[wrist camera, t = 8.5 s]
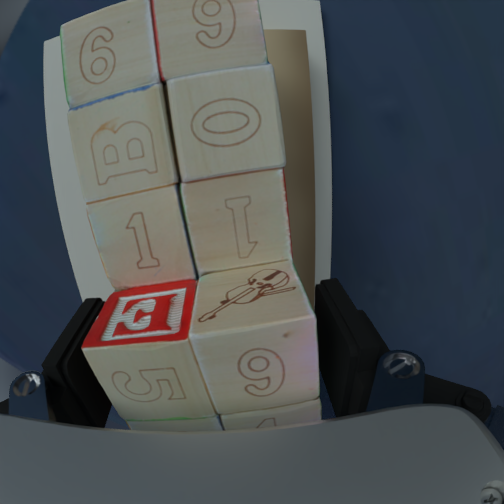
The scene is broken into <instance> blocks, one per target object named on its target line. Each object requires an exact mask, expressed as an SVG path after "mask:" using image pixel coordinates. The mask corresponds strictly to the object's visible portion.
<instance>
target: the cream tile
mask: <svg viewBox="0 0 504 504" xmlns="http://www.w3.org/2000/svg"><path fill="white" fill-rule="evenodd" d="M258 1H259V7H260V12H261V18H262V24H263V30H265V29H288V30H306V37H307V48H308V59H309V71H310V85H311V100H312V117H313V138H314V165H315V285H316V284H320V281H321V280H325V279H330V269H331V235H332V164H331V131H330V110H329V93H328V79H327V66H326V55H325V44H324V34H323V25H322V17H321V9H320V1H315V0H258ZM44 100H45V116H46V128H47V138H48V147H49V155H50V163H51V170H52V176H53V182H54V188H55V194H56V199H57V204H58V209H59V214H60V219H61V224H62V228H63V232H64V237H65V241H66V245H67V249H68V253H69V256H70V260H71V264H72V267H73V271H74V274H75V278H76V281H77V285H78V288H79V291H80V294H81V297H82V300H83V302H84V300H85V299H86V298H101V299H102V300H103V301H105V302H106V300H107V299H108V297H109V296H110V295H111V294H112V293H113V292H114V291H115V289H114V288H113V287H112V285H111V283H110V281H109V280H108V278H107V276H106V273H105V270H104V267H103V264H102V261H101V258H100V255H99V252H98V249H97V246H96V243H95V240H94V237H93V233H92V230H91V226H90V223H89V220H88V216H87V210H86V202H85V200H84V198H83V194H82V190H81V185H80V181H79V176H78V172H77V167H76V163H75V158H74V154H73V148H72V142H71V136H70V131H69V125H68V118H67V113H68V111H69V109H70V108H69V105H68V103H67V100H66V92H65V86H64V77H63V65H62V54H61V40H60V36H58V37H55V38H53V39H50V40H48V41H45V42H44ZM314 305H315V296H314Z"/></svg>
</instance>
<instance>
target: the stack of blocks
mask: <svg viewBox="0 0 504 504" xmlns="http://www.w3.org/2000/svg"><path fill="white" fill-rule="evenodd" d="M60 40H61V54H62V65H63V77H64V86H65V92H66V100H67V103H68V105H69V108H70V109H69V111H68V113H67V118H68V125H69V131H70V136H71V142H72V148H73V154H74V158H75V163H76V167H77V172H78V176H79V181H80V185H81V190H82V194H83V198H84V200H85V202H86V210H87V216H88V220H89V223H90V226H91V230H92V233H93V237H94V240H95V243H96V246H97V249H98V252H99V255H100V258H101V261H102V264H103V267H104V270H105V273H106V276H107V278H108V280H109V281H110V283H111V285H112V287H113V288H114V289H115V291H114V292H113V293H112V294H111V295H110V296H109V297H108V299H107V300H106V302H105V303H104V306H103V308H102V310H101V312H100V313H99V315H98V316H97V318H96V320H95V322H94V323H93V325H92V327H91V329H90V331H89V333H88V334H87V336H86V338H85V340H84V342H83V345H82V347H81V348H82V351H83V353H84V355H85V357H86V359H87V361H88V363H89V365H90V366H91V368H92V370H93V372H94V374H95V376H96V377H97V379H98V381H99V383H100V384H101V386H102V387H103V389H104V391H105V392H106V394H107V396H108V398H109V399H110V401H111V403H112V404H113V406H114V407H115V409H116V410H117V412H118V413H119V415H120V416H121V417H122V418H123V419H124V420H125V421H126V423H127V424H128V426H129V428H130V429H131V430H137V431H162V432H200V431H226V430H242V429H255V428H266V427H275V426H284V425H292V424H299V423H306V422H312V421H319V420H322V409H321V401H320V397H319V394H320V377H319V352H318V336H317V318H316V315H315V313H314V311H313V308H312V306H311V303H310V301H309V299H308V296H307V294H306V291H305V289H304V286H303V284H302V282H301V279H300V277H299V274H298V272H297V269H296V267H295V265H294V263H293V251H292V241H291V230H290V221H289V211H288V201H287V191H286V182H285V174H284V167H285V165H286V154H285V144H284V135H283V127H282V118H281V111H280V104H279V98H278V91H277V85H276V78H275V72H274V67H273V66H272V64H270V63H269V61H268V57H267V49H266V42H265V36H264V30H263V24H262V18H261V12H260V7H259V1H258V0H127V1H124V2H121V3H118V4H114V5H111V6H108V7H106V8H103V9H100V10H98V11H95V12H92V13H89V14H86V15H84V16H82V17H79V18H77V19H74V20H72V21H70V22H67V23H65V24H63V25H62V26H61V29H60Z"/></svg>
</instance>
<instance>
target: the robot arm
mask: <svg viewBox="0 0 504 504" xmlns="http://www.w3.org/2000/svg"><path fill="white" fill-rule="evenodd" d="M104 303H105V301H103V300H102V299H101V298H86V299H85V300H84V302H83V303H82V304H81V306H80V307H79V309H78V310H77V312H76V313H75V314H74V316H73V317H72V319H71V320H70V322H69V323H68V325H67V326H66V328H65V329H64V331H63V332H62V334H61V335H60V337H59V338H58V340H57V341H56V343H55V344H54V346H53V347H52V349H51V351H50V352H49V354H48V355H47V357H46V358H45V360H44V362H43V363H42V367H43V369H44V370H43V372H42V373H40V372H37V371H27V372H24V373H22V374H20V375H19V376H17V377H16V378H15V379H14V380H13V381H12V383H11V385H10V388H9V398H8V399H6V400H4V401H2V402H0V504H504V407H502V406H499V405H497V407H496V408H493V407H491V403H490V400H489V399H488V397H487V396H486V395H485V394H484V393H482V392H481V391H478V390H476V389H473V388H470V387H466V386H463V385H460V384H456V383H453V382H450V381H446V380H443V379H440V378H437V377H434V376H431V375H427V374H425V365H424V362H423V361H422V359H421V358H420V357H419V356H418V355H416V354H414V353H412V352H410V351H406V350H392V351H390V350H389V349H388V347H387V345H386V344H385V342H384V341H383V339H382V338H381V336H380V335H379V333H378V332H377V330H376V328H375V327H374V325H373V324H372V322H371V321H370V319H369V318H368V316H367V315H366V313H365V312H364V311H363V310H357V309H356V307H355V305H354V304H353V302H352V301H351V299H350V298H349V296H348V295H347V293H346V292H345V290H344V289H343V287H342V286H341V284H340V283H339V281H338V280H337V278H334V279H325V280H321V281H320V284H316V285H315V305H314V313H315V315H316V318H317V336H318V352H319V369H320V371H321V374H322V377H323V380H324V383H325V386H326V389H327V392H328V394H329V397H330V400H331V403H332V406H333V409H334V412H335V415H336V417H337V418H332V419H326V420H319V421H312V422H306V423H299V424H292V425H284V426H275V427H266V428H255V429H242V430H226V431H200V432H162V431H137V430H121V429H108V428H104V427H105V424H106V421H107V418H108V415H109V412H110V409H111V406H112V403H111V401H110V399H109V398H108V396H107V394H106V392H105V391H104V389H103V387H102V386H101V384H100V383H99V381H98V379H97V377H96V376H95V374H94V372H93V370H92V368H91V366H90V365H89V363H88V361H87V359H86V357H85V355H84V353H83V351H82V348H81V347H82V345H83V342H84V340H85V338H86V336H87V334H88V333H89V331H90V329H91V327H92V325H93V323H94V322H95V320H96V318H97V316H98V315H99V313H100V312H101V310H102V308H103V306H104Z"/></svg>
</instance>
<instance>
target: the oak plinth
mask: <svg viewBox="0 0 504 504" xmlns="http://www.w3.org/2000/svg"><path fill="white" fill-rule="evenodd" d="M264 36H265V42H266V49H267V57H268V61H269V63H270V64H272V66H273V67H274V72H275V78H276V85H277V91H278V98H279V104H280V111H281V118H282V127H283V135H284V144H285V154H286V165H285V167H284V174H285V182H286V191H287V201H288V211H289V221H290V230H291V241H292V251H293V263H294V265H295V267H296V269H297V272H298V274H299V277H300V279H301V282H302V284H303V286H304V289H305V291H306V294H307V296H308V299H309V301H310V303H311V306H312V308H313V311H314V296H315V165H314V138H313V117H312V100H311V85H310V71H309V59H308V48H307V37H306V30H288V29H265V30H264Z"/></svg>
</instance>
